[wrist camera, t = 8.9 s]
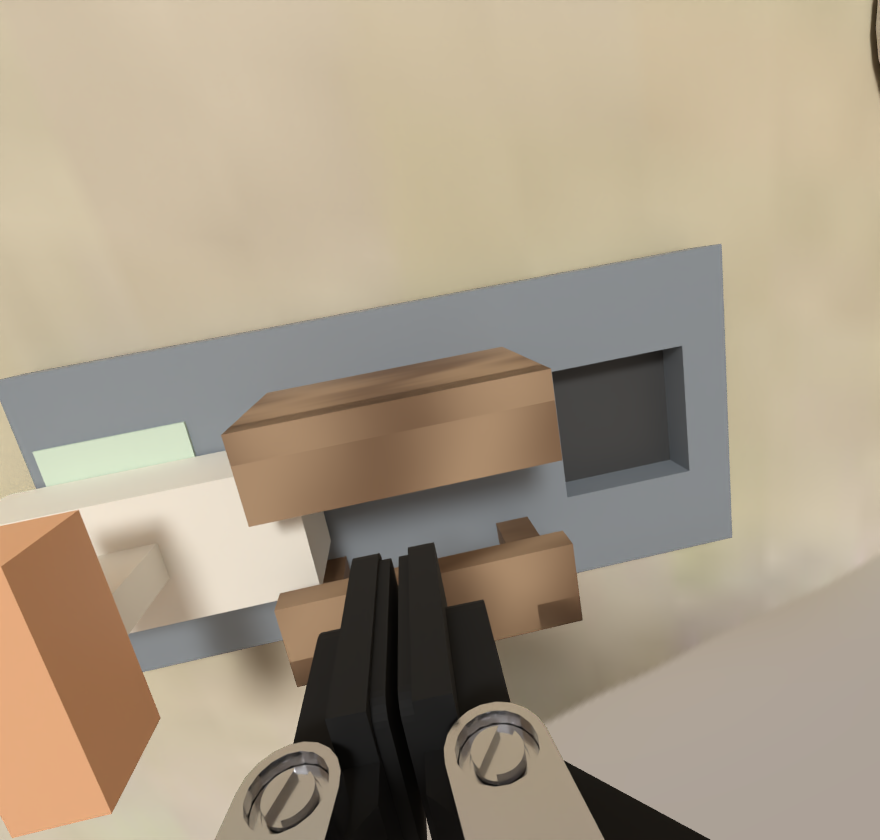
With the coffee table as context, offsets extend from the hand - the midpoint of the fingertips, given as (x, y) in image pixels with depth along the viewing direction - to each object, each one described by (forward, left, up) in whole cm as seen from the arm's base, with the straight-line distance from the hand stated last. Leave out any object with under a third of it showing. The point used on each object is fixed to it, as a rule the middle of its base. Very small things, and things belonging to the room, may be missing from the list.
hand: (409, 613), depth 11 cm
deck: (0, +1, -15) cm, 15 cm away
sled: (+10, +1, -12) cm, 16 cm away
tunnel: (0, +1, -13) cm, 13 cm away
